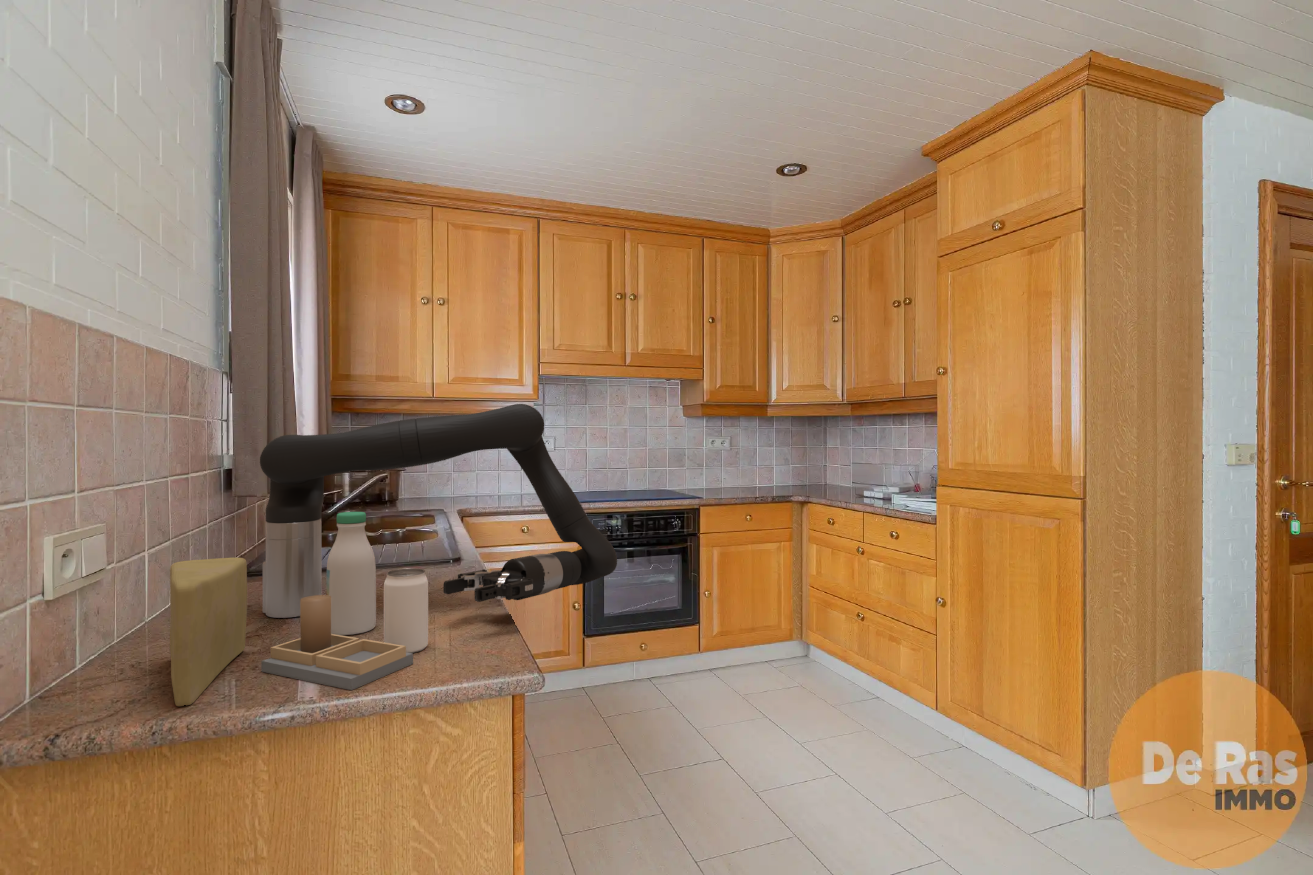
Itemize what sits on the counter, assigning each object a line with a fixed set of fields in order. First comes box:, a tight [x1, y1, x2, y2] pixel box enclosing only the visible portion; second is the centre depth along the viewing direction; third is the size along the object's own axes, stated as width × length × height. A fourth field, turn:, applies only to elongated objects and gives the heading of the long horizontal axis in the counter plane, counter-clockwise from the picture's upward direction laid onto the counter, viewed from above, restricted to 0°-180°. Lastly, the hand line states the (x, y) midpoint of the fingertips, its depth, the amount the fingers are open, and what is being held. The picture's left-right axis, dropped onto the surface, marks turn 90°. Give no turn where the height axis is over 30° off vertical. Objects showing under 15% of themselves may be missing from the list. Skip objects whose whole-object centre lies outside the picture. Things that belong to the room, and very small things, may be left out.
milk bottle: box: [325, 511, 377, 636], centre depth 115 cm, size 8×8×20 cm
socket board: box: [260, 594, 414, 691], centre depth 96 cm, size 17×11×10 cm, turn 67°
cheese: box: [169, 557, 248, 707], centre depth 92 cm, size 22×10×15 cm, turn 26°
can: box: [383, 567, 429, 654], centre depth 105 cm, size 6×6×12 cm
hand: (460, 591), depth 113 cm, fingers open, 8 cm apart
